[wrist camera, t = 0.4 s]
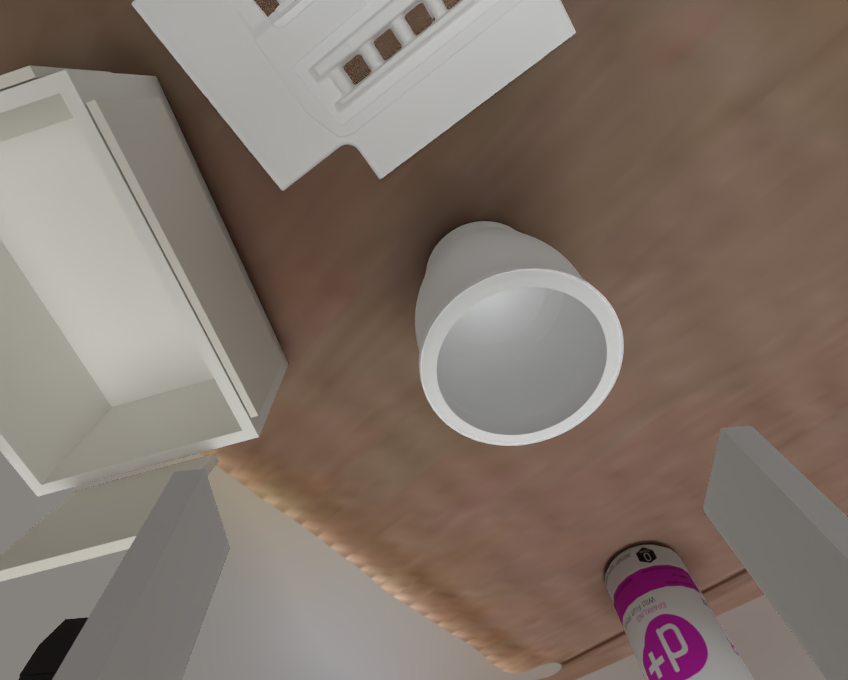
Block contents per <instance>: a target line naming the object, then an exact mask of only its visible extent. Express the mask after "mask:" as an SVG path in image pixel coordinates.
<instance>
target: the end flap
mask: <svg viewBox="0 0 848 680" xmlns="http://www.w3.org/2000/svg"><path fill="white" fill-rule="evenodd" d="M217 463H218V459H217V457H216V455H215V454H211V455H208V456H204V457H200V458H196V459H193V460H189V461H185V462H181V463H178V464H174V465H170V466H167V467H163V468H159V469H155V470H152V471H148V472H144V473H140V474H137V475H133V476H130V477H126V478H122V479H118V480H115V481H111V482H107V483H103V484H99V485H96V486H92V487H88V488H85V489H81V490H77V491H75V492H73V494H71V495H70V496H69V497H68V498H67V499H65V500H64V501H63V502H62V503H61V504H59V505H58V506H57V507H56V508H55V509H53V510H52V511H51V512H50V513H49V514H48V515H46V516H45V517H44V518H43V519H42V520H41V521H39V522H38V523H37V524H36V525H35V526H34V527H32V528H31V529H30V530H29V531H28V532H27V533H25V534H24V535H23V536H22V537H21V538H19V539H18V540H17V541H16V542H15V543H14V544H12V545H11V546H10V547H9V548H8V549H6V550H5V551H4V552H3V553H2V554H1V555H0V581H5V580H9V579H12V578H16V577H20V576H24V575H28V574H32V573H36V572H40V571H44V570H47V569H52V568H55V567H59V566H63V565H67V564H71V563H75V562H79V561H82V560H87V559H91V558H94V557H98V556H102V555H106V554H110V553H114V552H118V551H122V550H126V549H129V548H130V546H131V544H132V543H133V541H134V539H135V538H136V536H137V534H138V533H139V531H140V529H141V527H142V526H143V524H144V522H145V521H146V519H147V517H148V516H149V514H150V512H151V510H152V509H153V507H154V505H155V504H156V502H157V500H158V499H159V497H160V495H161V493H162V492H163V490H164V488H165V487H166V485H167V483H168V481H169V480H170V478H171V476H172V475H173V473H174V471H186V470H198V469H205V471H206V474H207V476H208V474H209V473H210V472H211V471H212V469H213V468H214V467H215V465H216V464H217Z"/></svg>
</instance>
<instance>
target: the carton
mask: <svg viewBox="0 0 848 680" xmlns="http://www.w3.org/2000/svg"><path fill="white" fill-rule="evenodd" d="M287 367H288V362H287V359H286V357H285V355H284V353H283V351H282V349H281V346H280V344H279V342H278V340H277V338H276V336H275V333H274V331H273V329H272V327H271V325H270V322H269V320H268V318H267V316H266V314H265V312H264V309H263V307H262V305H261V303H260V301H259V299H258V296H257V294H256V292H255V290H254V288H253V285H252V283H251V281H250V279H249V277H248V275H247V272H246V270H245V268H244V266H243V264H242V262H241V259H240V257H239V255H238V253H237V251H236V249H235V246H234V244H233V242H232V240H231V238H230V235H229V233H228V231H227V229H226V227H225V225H224V222H223V220H222V218H221V216H220V214H219V212H218V209H217V207H216V205H215V203H214V201H213V198H212V196H211V194H210V192H209V190H208V188H207V185H206V183H205V181H204V179H203V177H202V175H201V172H200V170H199V168H198V166H197V164H196V162H195V159H194V157H193V155H192V153H191V151H190V148H189V146H188V144H187V142H186V140H185V138H184V135H183V133H182V131H181V129H180V127H179V125H178V122H177V120H176V118H175V116H174V114H173V111H172V109H171V107H170V105H169V103H168V101H167V98H166V96H165V94H164V92H163V90H162V88H161V85H160V83H159V81H158V79H157V77H156V76H147V75H134V74H120V73H111V72H108V71H94V70H81V69H68V68H55V67H42V66H27V67H24V68H21V69H18V70H15V71H12V72H9V73H6V74H3V75H1V76H0V451H1V452H2V453H3V455H4V456H5V457H6V458H7V460H8V461H9V462H10V463H11V464H12V466H13V467H14V468H15V469H16V471H17V472H18V473H19V474H20V476H21V477H22V478H23V479H24V481H25V482H26V483H27V484H28V485H29V487H30V488H31V489H32V490H33V491H34V493H35V494H36V495H37V496H41V495H45V494H49V493H52V492H56V491H60V490H64V489H67V488H71V487H75V486H78V485H82V484H86V483H90V482H93V481H97V480H100V479H105V478H108V477H112V476H116V475H119V474H123V473H127V472H131V471H134V470H138V469H142V468H146V467H149V466H153V465H157V464H160V463H164V462H168V461H172V460H175V459H179V458H183V457H186V456H190V455H194V454H197V453H201V452H205V451H209V450H213V449H216V448H220V447H224V446H227V445H231V444H235V443H239V442H242V441H246V440H250V439H253V438H257V437H259V436H260V433H261V431H262V428H263V426H264V424H265V421H266V419H267V416H268V414H269V411H270V409H271V406H272V404H273V401H274V399H275V396H276V394H277V392H278V389H279V387H280V384H281V382H282V379H283V377H284V374H285V372H286V369H287Z"/></svg>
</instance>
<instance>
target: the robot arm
mask: <svg viewBox="0 0 848 680" xmlns="http://www.w3.org/2000/svg"><path fill="white" fill-rule="evenodd" d="M703 511H704V512H705V513H706V515H707V516H708V518H709V519H710V520H711V522H712V523H713V524H714V526H715V527H716V529H717V530H718V531H719V533H720V534H721V535H722V537H723V538H724V540H725V541H726V542H727V544H728V545H729V546H730V548H731V549H732V550H733V552H734V553H735V555H736V556H737V557H738V559H739V560H740V561H741V563H742V564H743V566H744V567H745V568H746V570H747V571H748V572H749V574H750V575H751V577H752V578H753V579H754V581H755V582H756V583H757V585H758V586H759V588H760V589H761V590H762V592H763V593H764V594H765V596H766V597H767V599H768V600H769V601H770V603H771V604H772V605H773V607H774V608H775V610H776V611H777V612H778V614H779V615H780V616H781V618H782V619H783V620H784V622H785V623H786V625H787V626H788V627H789V629H790V630H791V632H792V633H793V634H794V636H795V637H796V638H797V640H798V641H799V643H800V644H801V645H802V647H803V648H804V649H805V651H806V652H807V654H808V655H809V656H810V658H811V659H812V660H813V662H814V663H815V664H816V666H817V667H818V669H819V670H820V671H821V673H822V674H823V675H824V677H825V678H826V680H848V517H847V516H846V515H845V514H844V513H843V512H842V511H841V510H840V509H839V508H838V507H837V506H835V505H834V504H833V503H832V502H831V501H830V500H829V499H828V498H827V497H826V496H825V495H824V494H823V493H822V492H821V491H820V490H819V489H818V488H816V487H815V486H814V485H813V484H812V483H811V482H810V481H809V480H808V479H807V478H806V477H805V476H804V475H803V474H802V473H801V472H800V471H799V470H798V469H796V468H795V467H794V466H793V465H792V464H791V463H790V462H789V461H788V460H787V459H786V458H785V457H784V456H783V455H782V454H781V453H780V452H779V451H777V450H776V449H775V448H774V447H773V446H772V445H771V444H770V443H769V442H768V441H767V440H766V439H765V438H764V437H763V436H762V435H761V434H760V433H758V432H757V431H756V430H755V429H754V428H753V427H752V426H739V427H727V428H721V432H720V436H719V441H718V445H717V449H716V453H715V458H714V462H713V466H712V471H711V475H710V479H709V484H708V488H707V492H706V496H705V501H704V505H703ZM229 549H230V546H229V543H228V540H227V537H226V534H225V530H224V528H223V524H222V521H221V518H220V515H219V512H218V508H217V505H216V502H215V499H214V496H213V493H212V489H211V486H210V483H209V480H208V477H207V474H206V471H205V469H198V470H186V471H174V473H173V475H172V476H171V478H170V480H169V481H168V483H167V485H166V487H165V488H164V490H163V492H162V493H161V495H160V497H159V499H158V500H157V502H156V504H155V505H154V507H153V509H152V510H151V512H150V514H149V516H148V517H147V519H146V521H145V522H144V524H143V526H142V527H141V529H140V531H139V533H138V534H137V536H136V538H135V539H134V541H133V543H132V544H131V546H130V548H129V550H128V551H127V553H126V555H125V557H124V558H123V560H122V562H121V563H120V565H119V567H118V568H117V570H116V572H115V574H114V575H113V577H112V579H111V581H110V582H109V584H108V585H107V587H106V589H105V591H104V592H103V594H102V596H101V597H100V599H99V601H98V602H97V604H96V606H95V607H94V609H93V611H92V613H91V614H90V616H89V618H77V619H66V620H65V621H63V622H62V623H61V624H60V625H59V626H58V627H57V628H56V629H55V630H54V631H53V632H52V633H51V634H50V635H49V636H48V637H47V638H46V639H45V640H44V641H43V642H42V643H41V644H40V645H39V646H38V648H37V649H36V651H35V652H34V654H33V655H32V657H31V659H30V660H29V661H28V663H27V665H26V666H25V668H24V669H23V671H22V672H21V674H20V678H19V680H182V677H183V674H184V672H185V669H186V666H187V664H188V661H189V658H190V655H191V653H192V649H193V647H194V644H195V642H196V639H197V636H198V634H199V631H200V628H201V625H202V623H203V620H204V617H205V615H206V611H207V609H208V606H209V603H210V601H211V598H212V595H213V592H214V590H215V587H216V584H217V582H218V579H219V576H220V574H221V571H222V568H223V566H224V563H225V560H226V557H227V555H228V552H229Z"/></svg>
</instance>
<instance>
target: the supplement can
mask: <svg viewBox="0 0 848 680" xmlns="http://www.w3.org/2000/svg"><path fill="white" fill-rule="evenodd" d="M605 585H606V587H607V590H608V592H609V595H610V597H611V599H612V602H613V604H614V606H615V609H616V611H617V614H618V616H619V618H620V621H621V623H622V625H623V628H624V630H625V633H626V635H627V637H628V640H629V642H630V644H631V647H632V649H633V652H634V654H635V656H636V659H637V661H638V663H639V665H640V668H641V670H642V673H643V675H644V678H645V680H754V679H753V677H752V675H751V674H750V672H749V671H748V669H747V667H746V666H745V664H744V662H743V661H742V659H741V657H740V656H739V654H738V652H737V651H736V649H735V647H734V646H733V644H732V642H731V641H730V639H729V638H728V636H727V634H726V633H725V631H724V629H723V628H722V626H721V624H720V623H719V621H718V619H717V618H716V616H715V614H714V613H713V611H712V609H711V608H710V606H709V605H708V603H707V601H706V600H705V598H704V596H703V595H702V593H701V591H700V590H699V588H698V586H697V585H696V583H695V581H694V580H693V578H692V577H691V575H690V573H689V572H688V570H687V568H686V567H685V565H684V563H683V562H682V560H681V558H680V557H679V555H678V554H677V553H675V552H674V551H672V550H671V549H669V548H665V547H662V546H657V545H653V544H648V545H638V546H635V547H631V548H629V549H627V550H625V551H623V552H622V553H620V554H619V555H618V556H617V557H616V558H615V559H614V560H613V561H612V562H611V564H610V566H609V568H608V570H607V572H606V574H605Z"/></svg>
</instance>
